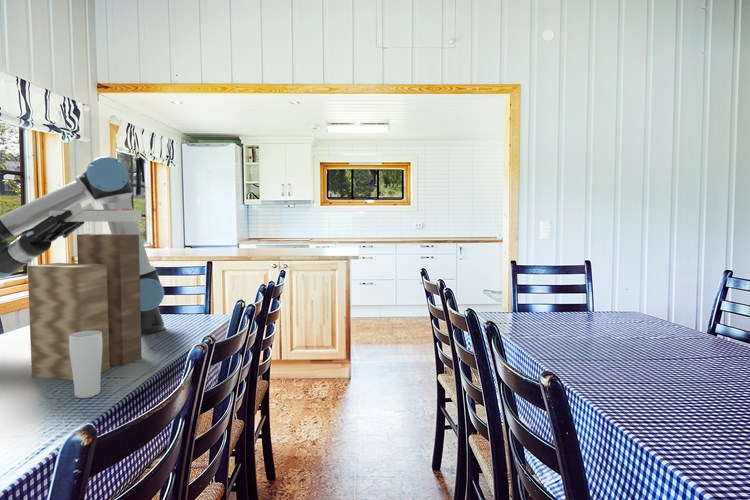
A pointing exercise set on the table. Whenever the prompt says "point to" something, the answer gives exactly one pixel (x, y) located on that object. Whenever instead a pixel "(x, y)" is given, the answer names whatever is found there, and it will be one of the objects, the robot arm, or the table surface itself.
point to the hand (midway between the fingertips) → (86, 207)
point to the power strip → (104, 215)
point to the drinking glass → (86, 362)
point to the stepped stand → (86, 304)
